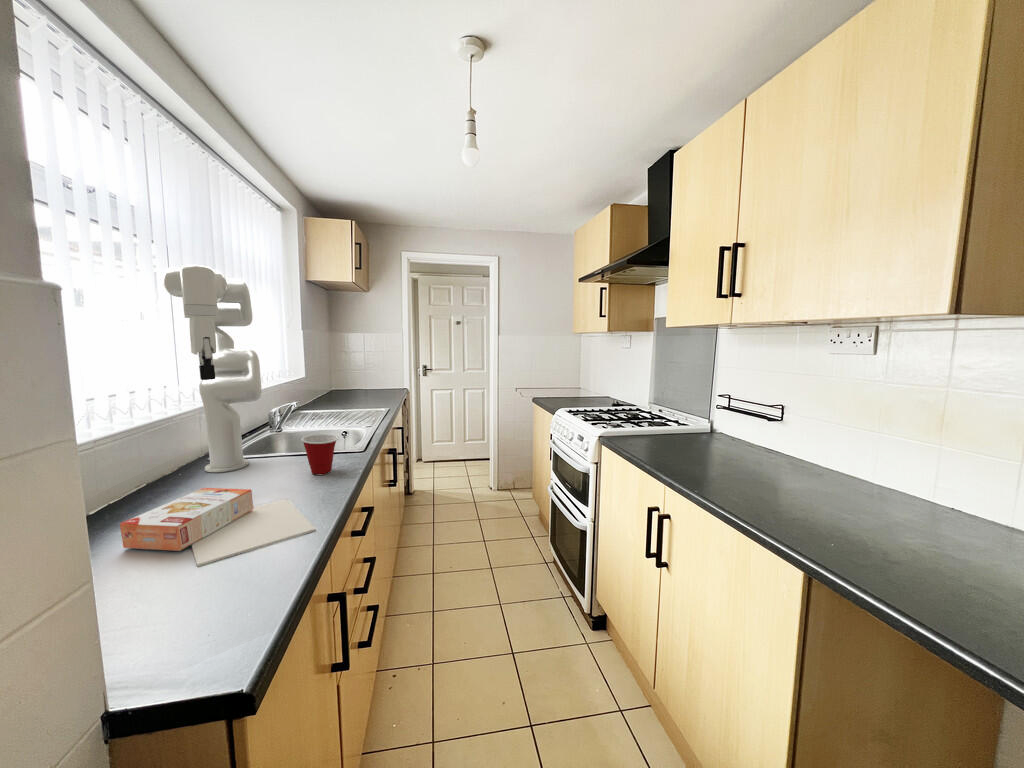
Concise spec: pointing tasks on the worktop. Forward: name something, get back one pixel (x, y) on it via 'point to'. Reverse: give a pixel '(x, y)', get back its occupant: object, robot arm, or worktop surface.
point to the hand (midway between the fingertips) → (208, 379)
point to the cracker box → (186, 519)
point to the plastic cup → (320, 452)
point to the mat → (252, 532)
